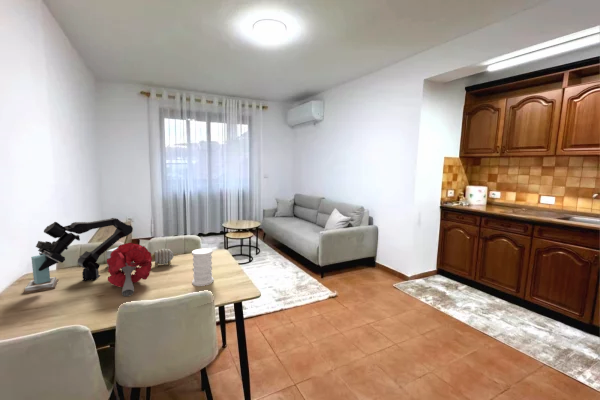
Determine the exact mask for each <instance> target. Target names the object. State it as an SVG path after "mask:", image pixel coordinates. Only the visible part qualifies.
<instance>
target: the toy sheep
mask: <svg viewBox="0 0 600 400" xmlns="http://www.w3.org/2000/svg"><path fill="white" fill-rule="evenodd" d="M178 255H179V254H178V253H174V252H173V251H172V250H171V249H170V248H160V249H157V250H154V252H153V253H151V257H152V262H151V263H154V265H155V267H156V268H159V265H162V266H164V265H167V264H168V266H171V265H172V262H171V261H172V260H173V258H174V257H177V256H178ZM170 264H171V265H170Z"/></svg>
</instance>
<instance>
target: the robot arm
mask: <svg viewBox="0 0 600 400" xmlns="http://www.w3.org/2000/svg"><path fill="white" fill-rule="evenodd" d="M110 226H113V227H114V228H116V229H115V231H114V233H113V234H111V235H110V236H109V237H108V238H106V239H105V240H104V241H103V242H102V243H100V244H99V245H98V246H96V248H94V249H93V250H92V251H88V250H86V251H84V253H82V254H81V255H79V258H78V259H77V264H78V265H79V266H80V267H82V268H83V269H82V272H81V274H82V282H87V281H95V280H97V279H98V278H99V277H100V276H101V274H99V268H100V266H101V265H100V263H97V262H98V261H99V257H100V256H101V255H102V254H104V253H105V252H107V250H110V248H111V247H112V246H113V245H115V244H116V243H117V242H119V240H120V239H123V238H125V237H127V236H129V235H130V234H132V233H133V231H134V229H133V226H132V225H130V224H126V223H125V222H123V221H121V220H120V219H118V218H115V217H112V218H105V219H101V220H100V219H99V220H94V221H87V222H86V221H75V222H74V221H73V222H71V223H70V225H65V226H63V225H61V224H60V223H59V222H57V221H54V222H53V223H51V224H49V225H47V226H46V227H45V228H44V229H43V233H44V234H47V235H48V236H49V237H52V238H53V239H57V240H56V241H55V240H54V241H52V242H51V241H41V240H38V241H37V244H36V245H35V248H37V249H38V250H37V251H38V252H39V253H38V254H39V255H43V254H45V255H47V256H48V257H47V256H45V258H46V260H45V261H44V263H43V264H42V265H41V267H40V268H39V269H38V270H39V271H42V270H44V269H46V268H48V267H49V268H50V267H52V266H54V265H57V264H59V263H64V261H66V257H65V256H63V255H62V254H63V252H64V251H65V250H66V251H68V249H69V248H68V247H69V246H70V245H71V244H72V243H73V242H74V241H75V240H76V241H81V238H80V235H81V234H85V233H87V232H89V231H92V230H95V229H101V228H105V227H110Z"/></svg>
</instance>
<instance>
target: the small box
mask: <svg viewBox="0 0 600 400" xmlns="http://www.w3.org/2000/svg"><path fill="white" fill-rule="evenodd" d="M118 247H119V246H118ZM118 247H116V246H115V247H114V248H111V249H107V250H106V260H107V259H108V258H111V256H110V255H111V253H112V251H114V250H115V249H117V248H118ZM106 266H107V267H109V265H108V264H107V265H106Z"/></svg>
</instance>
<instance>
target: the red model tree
mask: <svg viewBox="0 0 600 400" xmlns="http://www.w3.org/2000/svg"><path fill="white" fill-rule="evenodd" d="M151 254H152V252H150V251H149V250H148V249H147V248H146V246H144V245H140V244H138V243H133V242H127V243H126V242H125V243H123V244H119V246H118V248H117V249H115V250H114V251H112V253H111V255H110V256H111V258H108V259H107V258H106V263H107V264H108V265H109V266H107V267H108V268H107V271H108V273H109V276H108V277H107V281H108V283H110V285H112V286H115V287H118V288H122V289H121V295H122V296H124V297H130V296H133V294H134V293H135V287H134V283H139V281H141V280H147V279H148V277H149V276H150V274H151V271H152V266H153V265H152V264H153V262H152V257H151ZM133 271H135V272H133Z"/></svg>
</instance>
